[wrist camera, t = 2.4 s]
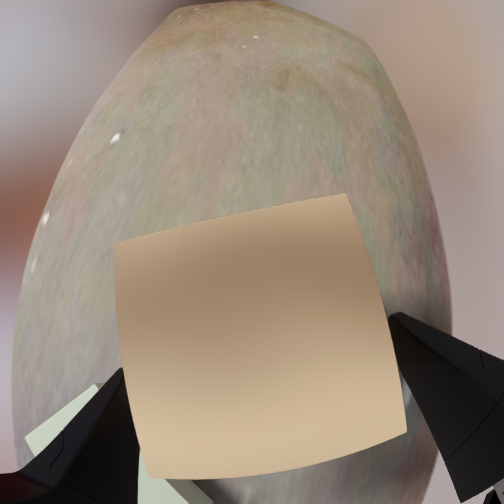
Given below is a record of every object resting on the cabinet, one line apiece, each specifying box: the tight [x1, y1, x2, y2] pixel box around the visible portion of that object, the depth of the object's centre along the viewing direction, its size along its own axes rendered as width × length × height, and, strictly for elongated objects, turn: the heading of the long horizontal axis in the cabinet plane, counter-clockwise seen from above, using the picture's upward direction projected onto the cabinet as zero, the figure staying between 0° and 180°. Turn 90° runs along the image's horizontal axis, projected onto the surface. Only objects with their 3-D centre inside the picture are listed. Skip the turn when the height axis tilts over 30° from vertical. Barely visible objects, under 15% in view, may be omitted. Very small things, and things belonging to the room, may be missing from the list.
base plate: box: [24, 382, 213, 504], centre depth 12 cm, size 11×11×2 cm
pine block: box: [114, 193, 407, 479], centre depth 11 cm, size 6×6×12 cm
